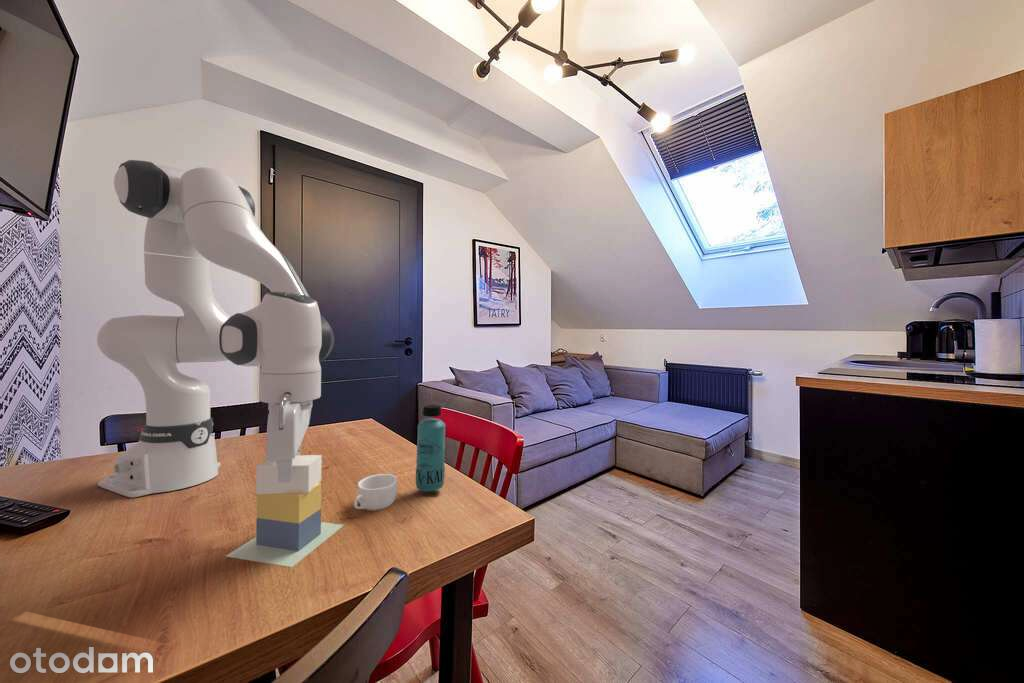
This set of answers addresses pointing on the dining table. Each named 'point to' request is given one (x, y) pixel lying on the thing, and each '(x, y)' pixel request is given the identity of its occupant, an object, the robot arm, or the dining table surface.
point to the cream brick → (301, 482)
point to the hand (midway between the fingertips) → (290, 469)
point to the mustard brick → (289, 505)
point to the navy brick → (288, 532)
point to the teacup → (376, 492)
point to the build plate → (282, 555)
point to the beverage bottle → (430, 451)
